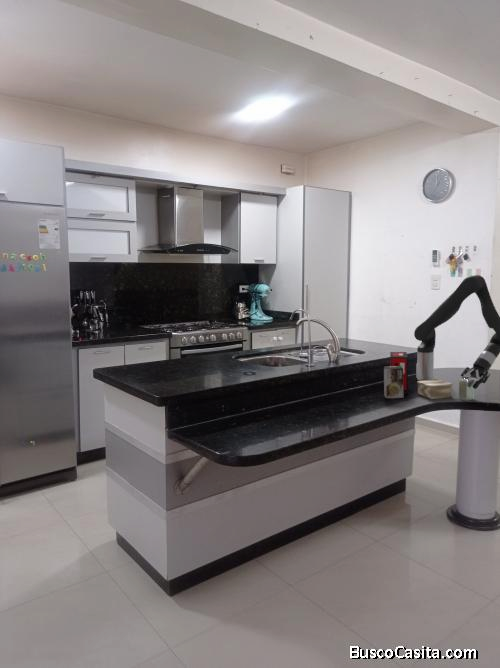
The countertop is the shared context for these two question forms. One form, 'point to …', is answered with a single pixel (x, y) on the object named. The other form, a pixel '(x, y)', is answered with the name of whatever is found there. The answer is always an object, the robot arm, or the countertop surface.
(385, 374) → the coffee box
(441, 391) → the birch block
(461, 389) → the tea tin
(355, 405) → the countertop surface
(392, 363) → the cleaning product box
